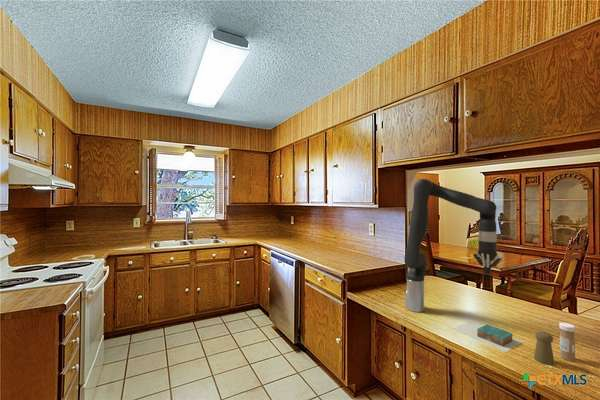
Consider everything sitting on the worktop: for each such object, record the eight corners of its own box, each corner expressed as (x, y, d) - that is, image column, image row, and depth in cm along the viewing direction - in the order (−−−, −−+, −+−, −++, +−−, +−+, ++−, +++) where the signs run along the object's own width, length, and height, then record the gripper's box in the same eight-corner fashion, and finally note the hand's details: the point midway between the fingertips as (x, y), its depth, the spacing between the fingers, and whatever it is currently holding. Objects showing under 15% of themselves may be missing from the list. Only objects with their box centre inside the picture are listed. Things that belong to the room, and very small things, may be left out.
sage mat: (450, 329, 131) (450, 328, 131) (469, 322, 139) (469, 321, 139) (505, 353, 111) (505, 352, 111) (523, 342, 119) (523, 341, 119)
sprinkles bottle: (578, 362, 104) (578, 327, 104) (565, 361, 105) (565, 326, 105) (569, 355, 109) (568, 322, 109) (556, 354, 110) (556, 321, 110)
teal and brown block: (477, 328, 123) (502, 338, 115) (487, 324, 128) (512, 333, 119) (477, 336, 123) (502, 346, 115) (487, 331, 128) (512, 341, 119)
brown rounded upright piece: (533, 360, 106) (532, 332, 106) (534, 354, 110) (534, 327, 110) (554, 367, 101) (554, 338, 101) (555, 360, 105) (554, 332, 105)
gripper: (469, 238, 139) (469, 272, 139) (498, 242, 127) (498, 279, 128) (477, 237, 143) (477, 270, 143) (506, 241, 131) (506, 276, 131)
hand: (487, 274), depth 135 cm, fingers closed
